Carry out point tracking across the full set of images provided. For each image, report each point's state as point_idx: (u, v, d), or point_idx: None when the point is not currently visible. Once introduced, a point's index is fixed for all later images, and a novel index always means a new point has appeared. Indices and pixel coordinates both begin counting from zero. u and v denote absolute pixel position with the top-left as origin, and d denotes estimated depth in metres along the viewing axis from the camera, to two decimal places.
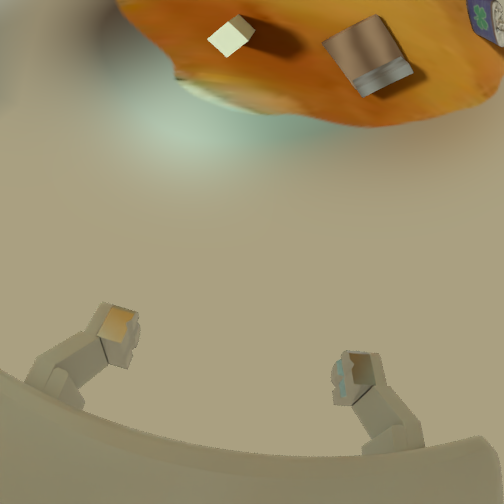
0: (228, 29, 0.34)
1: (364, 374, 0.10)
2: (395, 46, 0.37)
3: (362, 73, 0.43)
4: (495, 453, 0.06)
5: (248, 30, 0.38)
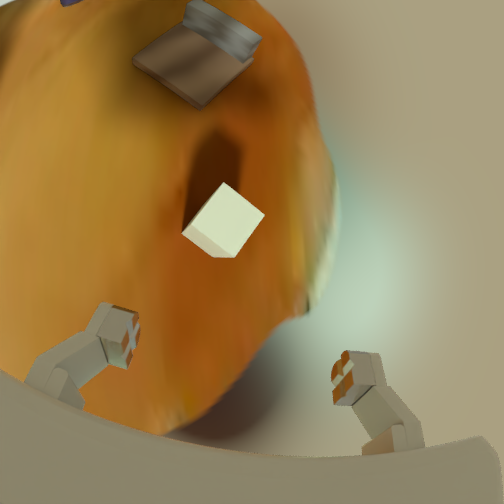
0: (207, 221, 0.23)
1: (364, 374, 0.10)
2: (170, 31, 0.30)
3: (227, 54, 0.33)
4: (495, 453, 0.06)
5: (205, 203, 0.29)
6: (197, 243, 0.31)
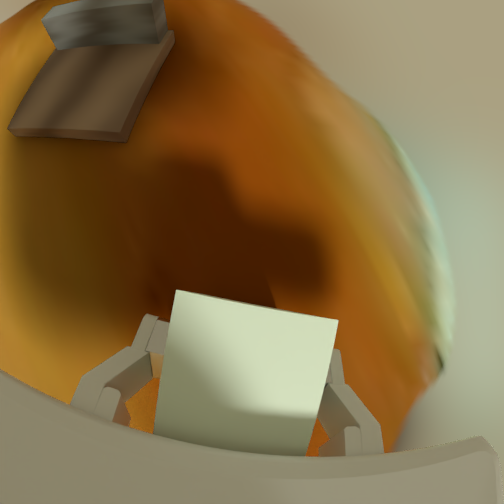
0: (188, 416, 0.07)
1: None
2: (45, 66, 0.17)
3: (130, 46, 0.18)
4: (495, 453, 0.06)
5: None
6: None
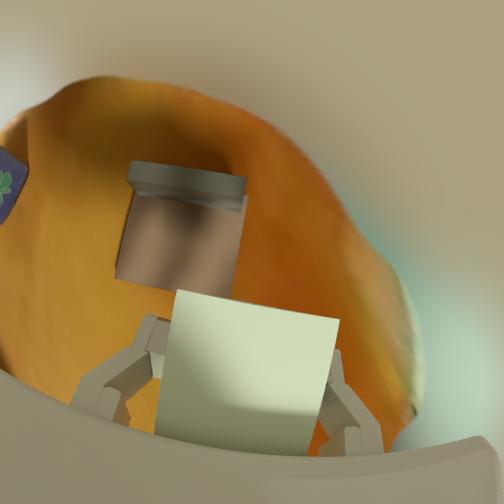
0: (189, 416, 0.07)
1: None
2: (132, 215, 0.29)
3: (215, 211, 0.30)
4: (495, 453, 0.06)
5: None
6: None
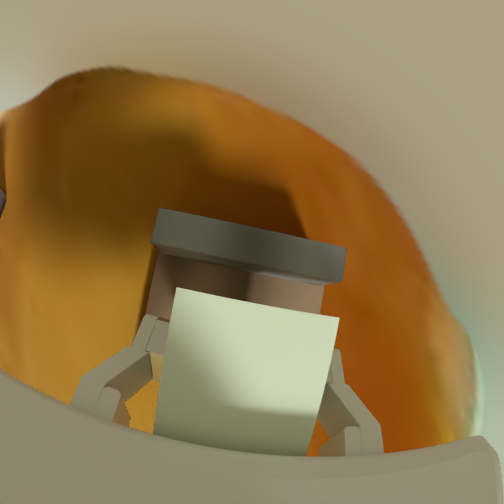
0: (188, 415, 0.07)
1: None
2: (156, 284, 0.20)
3: (283, 283, 0.21)
4: (495, 453, 0.06)
5: None
6: None
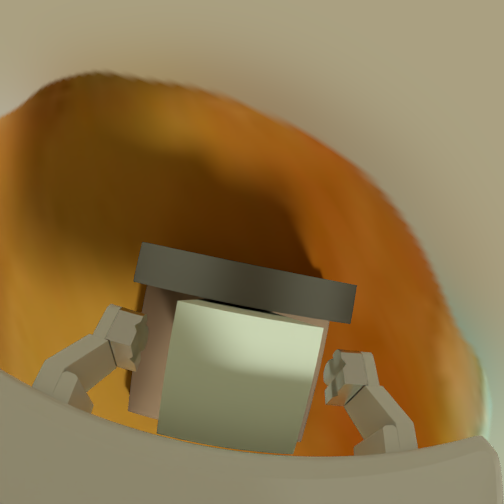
0: (188, 413, 0.08)
1: (356, 374, 0.09)
2: None
3: None
4: (495, 453, 0.06)
5: None
6: None
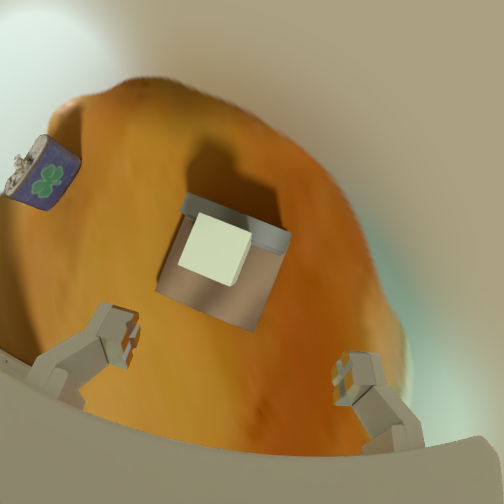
0: (192, 256, 0.23)
1: (364, 374, 0.10)
2: (179, 236, 0.33)
3: (257, 249, 0.33)
4: (495, 453, 0.06)
5: None
6: None
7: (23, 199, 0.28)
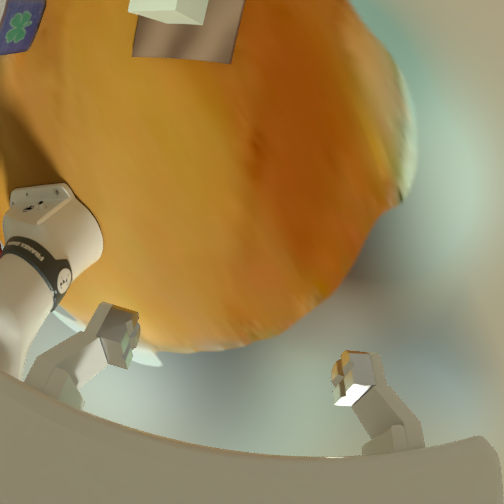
0: (138, 1, 0.16)
1: (364, 374, 0.10)
2: None
3: None
4: (495, 453, 0.06)
5: None
6: (177, 22, 0.23)
7: (1, 51, 0.20)
